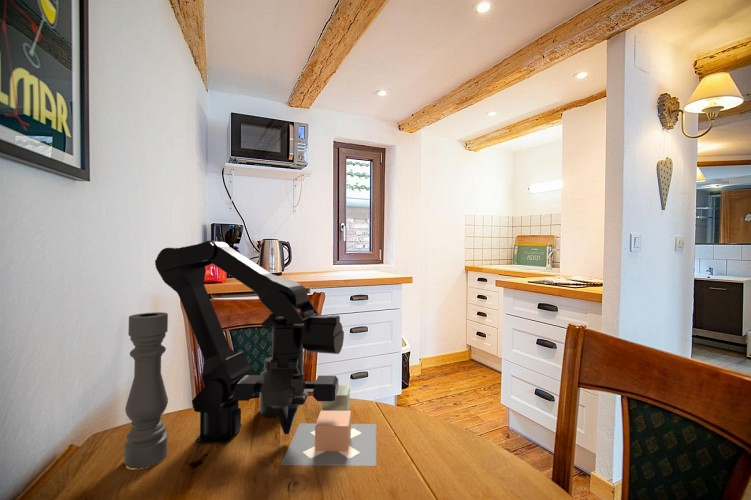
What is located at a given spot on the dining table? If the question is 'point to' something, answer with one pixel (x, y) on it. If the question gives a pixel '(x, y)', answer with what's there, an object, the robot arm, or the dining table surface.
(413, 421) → the dining table surface
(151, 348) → the candle holder
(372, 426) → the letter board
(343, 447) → the terracotta block
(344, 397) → the sage cube
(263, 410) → the supplement bottle
